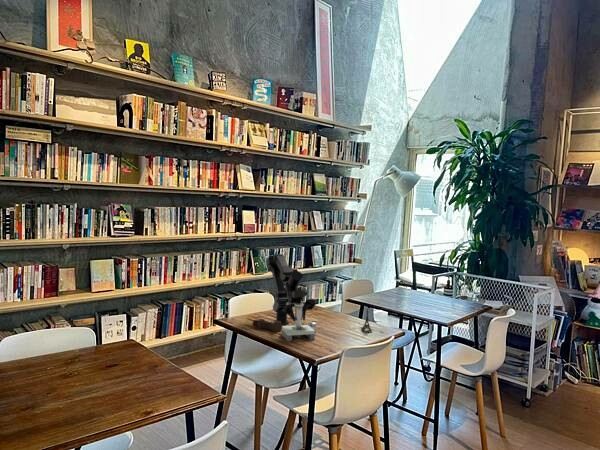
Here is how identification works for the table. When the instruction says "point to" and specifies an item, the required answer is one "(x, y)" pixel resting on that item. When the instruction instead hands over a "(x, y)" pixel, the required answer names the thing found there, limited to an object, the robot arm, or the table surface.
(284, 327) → the square washer plate
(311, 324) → the short stub
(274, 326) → the bolt
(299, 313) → the long pin
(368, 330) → the eiffel tower figurine
